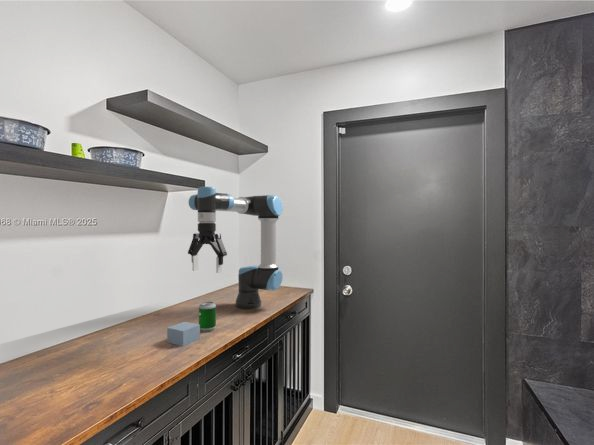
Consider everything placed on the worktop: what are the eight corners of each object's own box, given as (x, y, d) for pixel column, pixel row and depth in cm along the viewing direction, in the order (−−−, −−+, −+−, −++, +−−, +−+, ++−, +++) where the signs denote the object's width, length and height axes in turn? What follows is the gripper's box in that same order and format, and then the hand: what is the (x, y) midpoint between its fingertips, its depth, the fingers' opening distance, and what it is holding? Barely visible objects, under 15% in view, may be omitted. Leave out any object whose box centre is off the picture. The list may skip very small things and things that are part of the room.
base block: (184, 335, 137) (184, 321, 137) (199, 338, 133) (199, 324, 133) (167, 342, 129) (167, 327, 129) (183, 346, 125) (183, 331, 125)
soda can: (218, 327, 147) (219, 301, 147) (210, 332, 140) (210, 306, 140) (204, 326, 149) (204, 300, 150) (195, 331, 142) (195, 304, 142)
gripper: (179, 222, 139) (179, 270, 139) (223, 222, 128) (223, 274, 128) (192, 222, 146) (192, 268, 146) (235, 222, 135) (235, 272, 135)
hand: (207, 271), depth 137 cm, fingers open, 13 cm apart
